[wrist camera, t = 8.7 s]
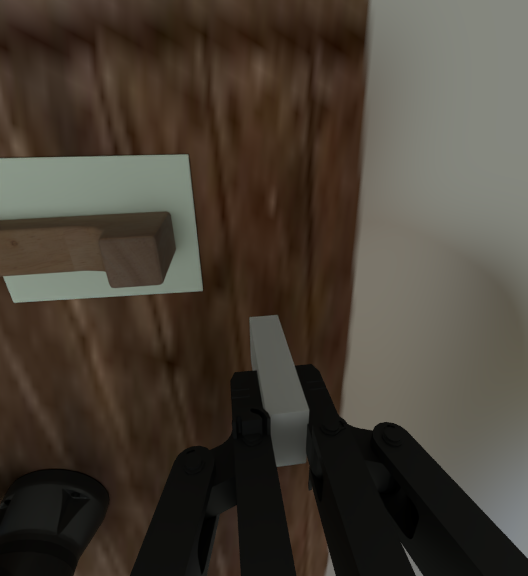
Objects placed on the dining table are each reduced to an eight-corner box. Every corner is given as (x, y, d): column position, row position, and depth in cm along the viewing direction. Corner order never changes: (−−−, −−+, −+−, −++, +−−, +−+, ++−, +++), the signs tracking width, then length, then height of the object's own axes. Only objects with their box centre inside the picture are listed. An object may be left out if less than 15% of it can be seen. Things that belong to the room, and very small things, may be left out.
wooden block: (154, 235, 26) (-92, 250, 24) (163, 286, 28) (-64, 303, 26) (170, 210, 34) (-14, 220, 32) (177, 250, 36) (4, 262, 34)
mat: (16, 300, 37) (13, 302, 36) (-41, 159, 30) (-45, 159, 30) (203, 288, 39) (202, 291, 38) (188, 154, 32) (187, 154, 32)
